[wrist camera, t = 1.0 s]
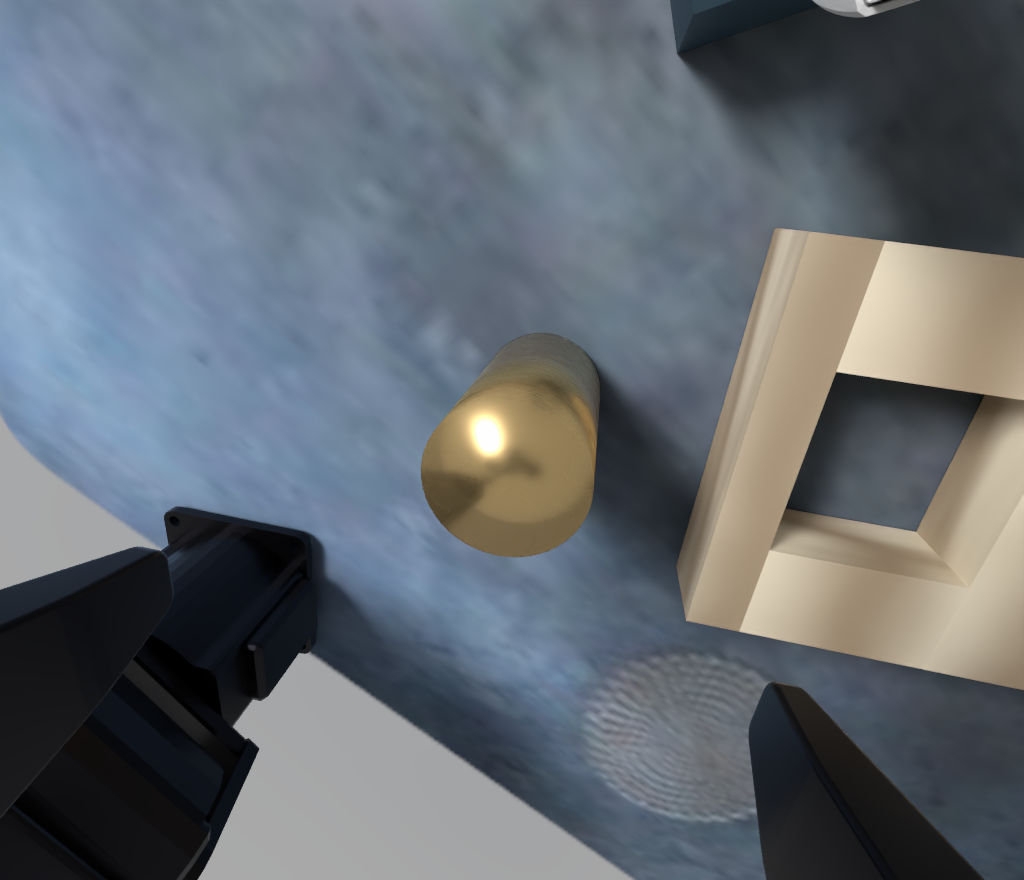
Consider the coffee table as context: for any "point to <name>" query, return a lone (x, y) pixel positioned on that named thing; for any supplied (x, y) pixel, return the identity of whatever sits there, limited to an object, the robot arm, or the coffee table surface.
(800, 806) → the robot arm
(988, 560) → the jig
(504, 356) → the brass cylinder plug
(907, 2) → the watch
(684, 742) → the coffee table surface
